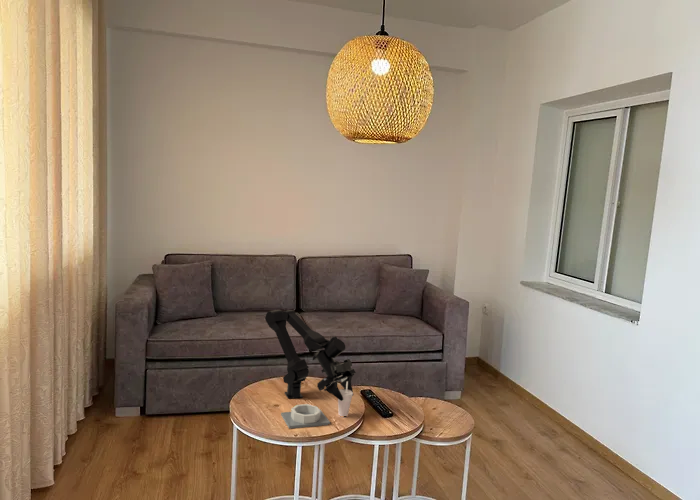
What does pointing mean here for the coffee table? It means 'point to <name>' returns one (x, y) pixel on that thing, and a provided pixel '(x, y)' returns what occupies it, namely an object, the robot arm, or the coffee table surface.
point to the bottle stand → (304, 417)
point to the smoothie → (344, 401)
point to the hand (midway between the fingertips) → (347, 397)
